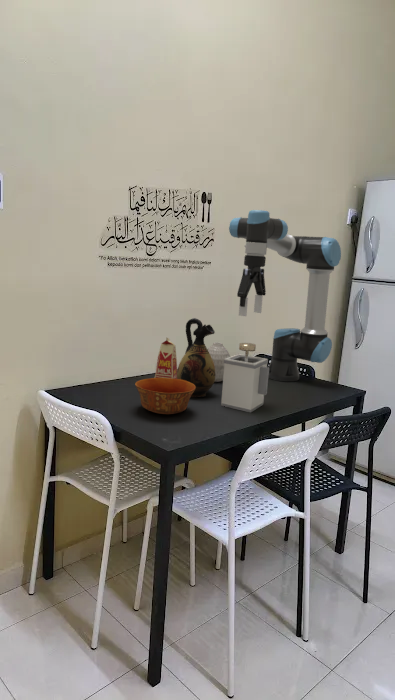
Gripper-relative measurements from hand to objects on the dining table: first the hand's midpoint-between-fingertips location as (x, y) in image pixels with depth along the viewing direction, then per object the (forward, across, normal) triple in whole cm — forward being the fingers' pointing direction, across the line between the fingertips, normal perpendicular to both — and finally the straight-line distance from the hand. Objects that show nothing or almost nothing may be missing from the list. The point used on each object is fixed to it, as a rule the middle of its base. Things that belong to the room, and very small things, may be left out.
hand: (250, 314), depth 188 cm
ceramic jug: (+35, -1, -22) cm, 41 cm away
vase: (+35, -26, -25) cm, 50 cm away
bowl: (+35, +25, -19) cm, 47 cm away
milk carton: (+35, -7, -39) cm, 53 cm away
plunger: (+33, 0, 0) cm, 33 cm away
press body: (+35, 0, +1) cm, 35 cm away
